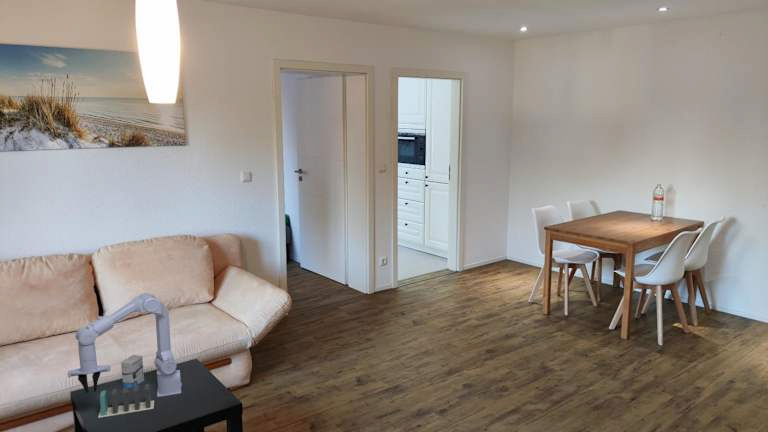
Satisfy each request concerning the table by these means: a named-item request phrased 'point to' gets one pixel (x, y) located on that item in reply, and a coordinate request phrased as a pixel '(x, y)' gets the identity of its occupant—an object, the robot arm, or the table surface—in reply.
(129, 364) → the ink box
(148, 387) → the tile
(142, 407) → the mat
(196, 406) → the table surface
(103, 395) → the tile teal
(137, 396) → the tile
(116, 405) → the tile
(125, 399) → the tile
